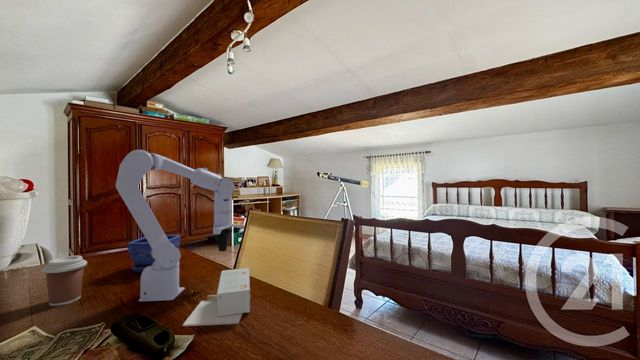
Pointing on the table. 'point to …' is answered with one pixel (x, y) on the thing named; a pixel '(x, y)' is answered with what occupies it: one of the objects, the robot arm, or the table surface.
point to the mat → (210, 315)
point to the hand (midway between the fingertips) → (222, 250)
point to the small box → (233, 292)
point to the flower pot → (146, 252)
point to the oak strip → (211, 297)
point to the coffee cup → (64, 279)
